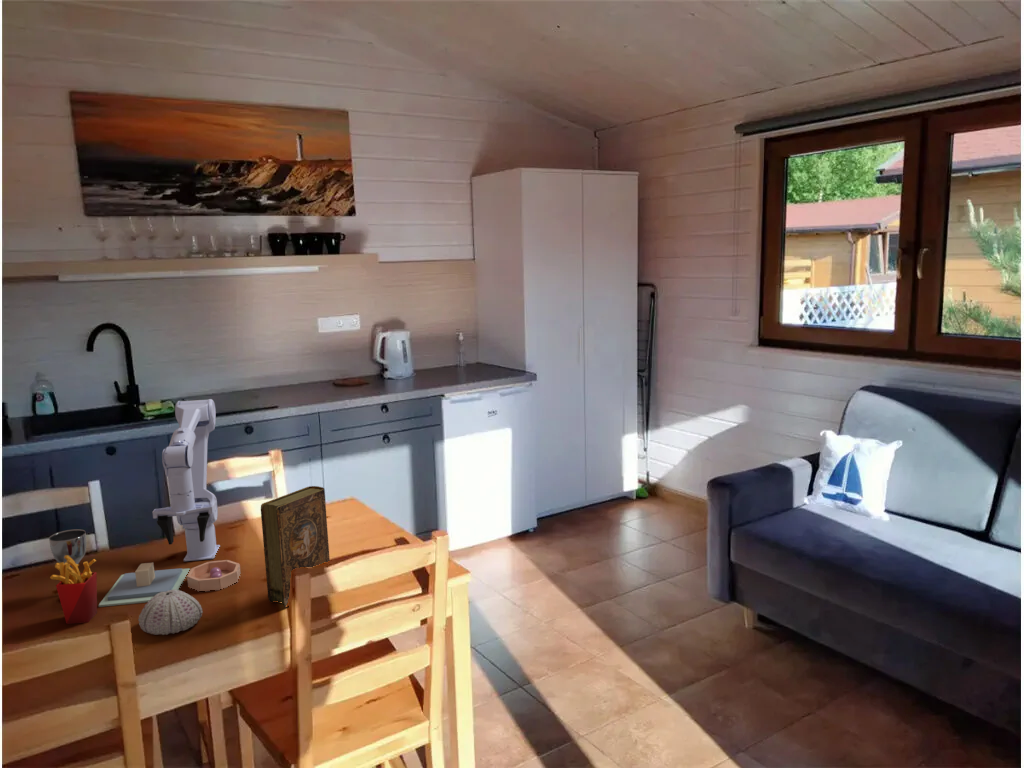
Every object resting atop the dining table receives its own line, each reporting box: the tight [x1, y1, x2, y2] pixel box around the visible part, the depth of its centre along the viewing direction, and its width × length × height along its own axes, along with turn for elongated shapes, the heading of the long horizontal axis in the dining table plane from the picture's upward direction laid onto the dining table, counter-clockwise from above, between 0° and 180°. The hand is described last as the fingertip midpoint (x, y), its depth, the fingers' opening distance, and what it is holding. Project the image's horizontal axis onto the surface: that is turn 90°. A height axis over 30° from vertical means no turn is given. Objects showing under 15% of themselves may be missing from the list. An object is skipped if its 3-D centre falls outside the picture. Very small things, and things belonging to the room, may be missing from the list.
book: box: [260, 485, 331, 608], centre depth 189 cm, size 16×6×25 cm, turn 148°
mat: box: [97, 568, 191, 608], centre depth 197 cm, size 18×17×1 cm
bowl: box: [186, 559, 241, 592], centre depth 200 cm, size 12×12×3 cm
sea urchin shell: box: [137, 589, 204, 636], centre depth 176 cm, size 13×14×8 cm
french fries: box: [49, 555, 98, 625], centre depth 179 cm, size 9×8×15 cm
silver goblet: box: [48, 528, 87, 569], centre depth 195 cm, size 8×8×15 cm
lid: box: [108, 562, 183, 601], centre depth 197 cm, size 14×14×5 cm
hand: (186, 541), depth 202 cm, fingers open, 7 cm apart
